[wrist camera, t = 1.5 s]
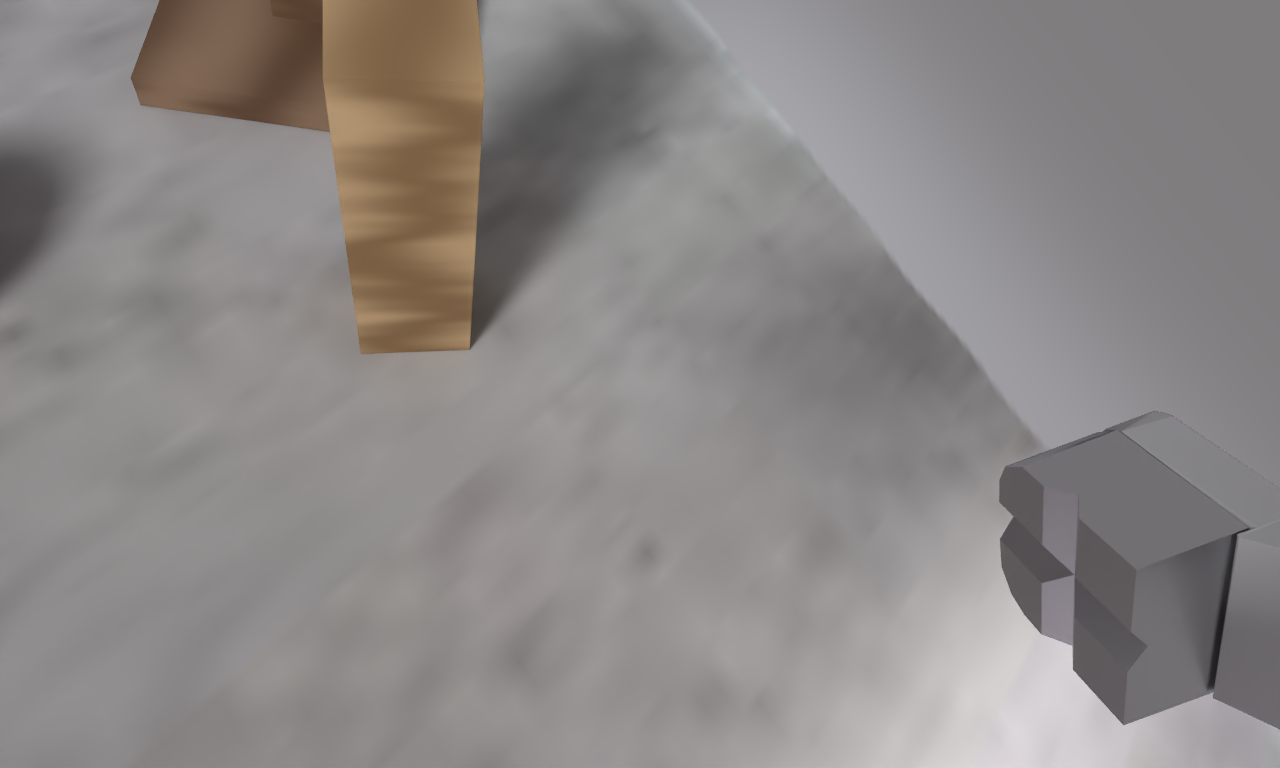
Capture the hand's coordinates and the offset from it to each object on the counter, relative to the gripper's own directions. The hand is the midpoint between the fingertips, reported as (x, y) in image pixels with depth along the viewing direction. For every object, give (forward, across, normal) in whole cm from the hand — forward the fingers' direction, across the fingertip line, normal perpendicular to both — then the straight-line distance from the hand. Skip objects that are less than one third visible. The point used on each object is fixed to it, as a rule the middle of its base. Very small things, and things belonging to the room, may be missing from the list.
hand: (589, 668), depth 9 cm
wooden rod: (+30, +2, +9) cm, 31 cm away
